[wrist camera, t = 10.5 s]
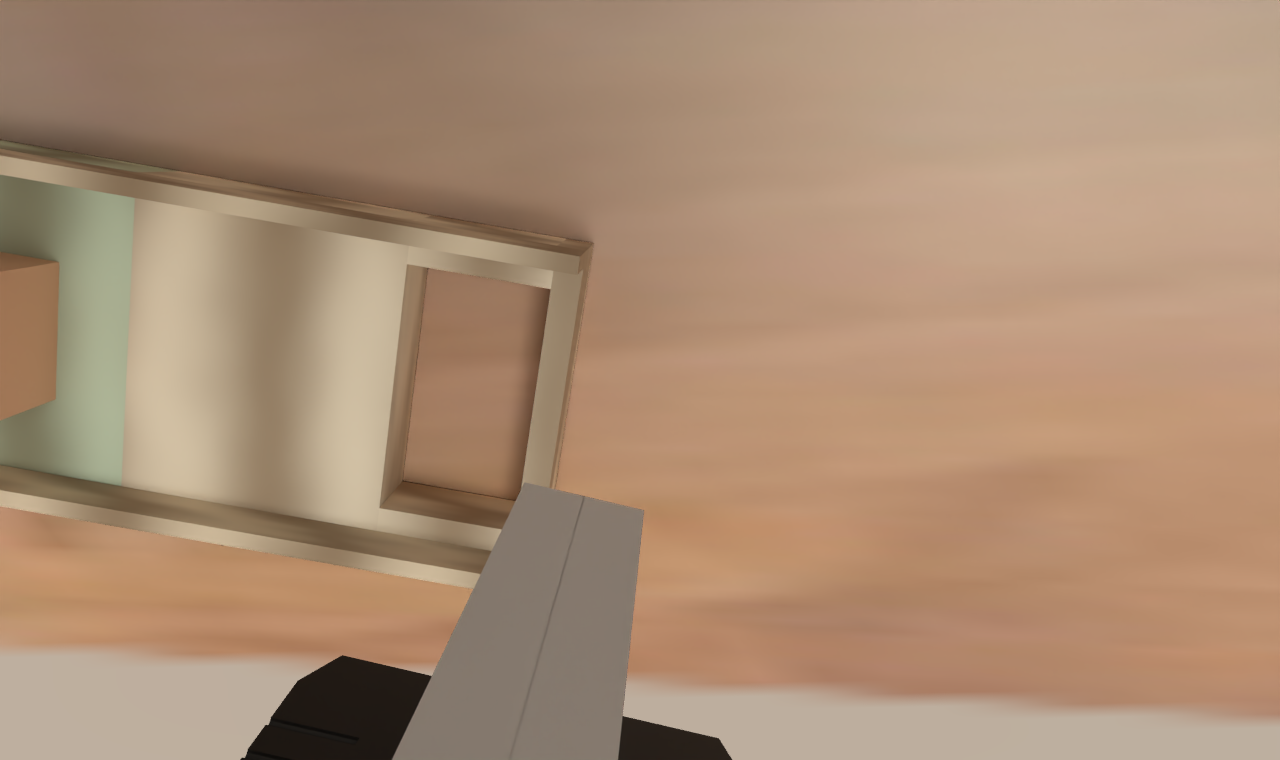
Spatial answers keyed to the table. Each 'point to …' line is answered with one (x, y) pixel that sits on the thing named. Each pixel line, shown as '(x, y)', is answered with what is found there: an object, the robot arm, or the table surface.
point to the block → (27, 332)
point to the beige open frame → (258, 363)
